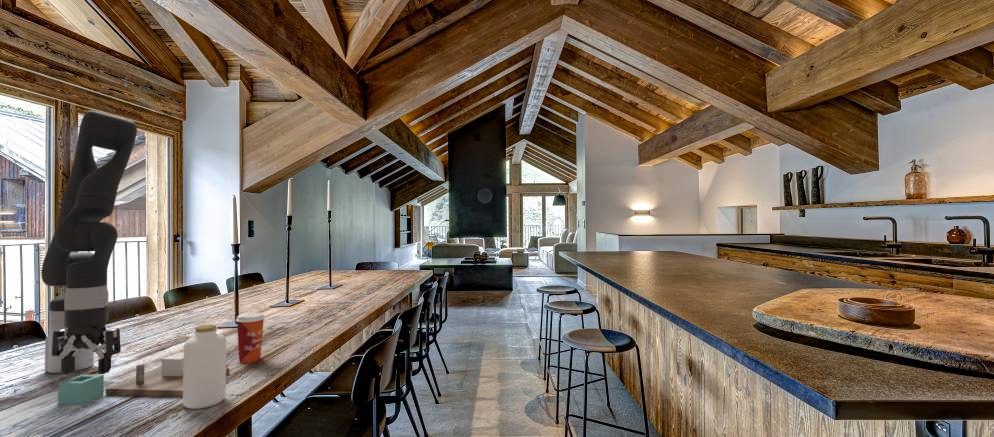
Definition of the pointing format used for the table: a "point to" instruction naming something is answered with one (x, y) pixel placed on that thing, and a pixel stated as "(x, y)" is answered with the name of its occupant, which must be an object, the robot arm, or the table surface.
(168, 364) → the block
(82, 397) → the teal boxy piece
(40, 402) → the table surface
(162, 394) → the pin base
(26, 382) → the table surface
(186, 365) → the white plastic bottle
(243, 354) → the paper cup
